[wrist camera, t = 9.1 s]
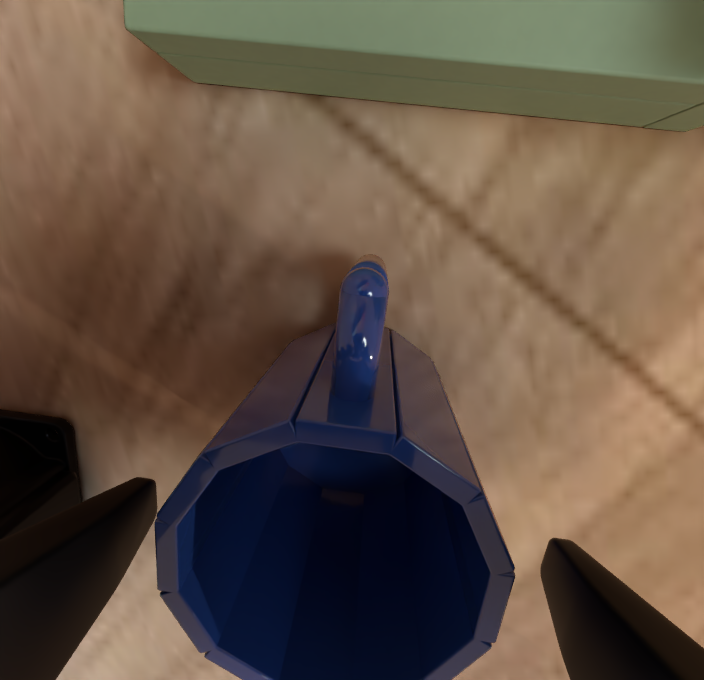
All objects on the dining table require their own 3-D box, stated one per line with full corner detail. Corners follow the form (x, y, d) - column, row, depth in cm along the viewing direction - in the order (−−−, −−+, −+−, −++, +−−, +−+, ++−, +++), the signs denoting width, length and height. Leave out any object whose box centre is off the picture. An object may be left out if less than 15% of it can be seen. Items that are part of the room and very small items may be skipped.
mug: (259, 478, 15) (160, 679, 8) (270, 238, 12) (140, 249, 6) (429, 503, 15) (470, 731, 8) (478, 263, 12) (597, 304, 5)
